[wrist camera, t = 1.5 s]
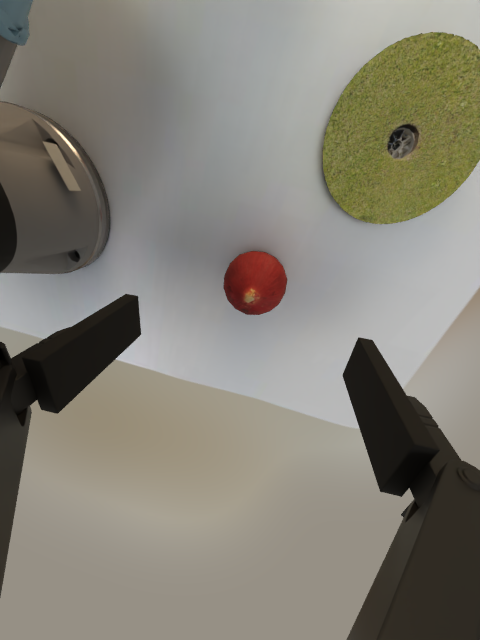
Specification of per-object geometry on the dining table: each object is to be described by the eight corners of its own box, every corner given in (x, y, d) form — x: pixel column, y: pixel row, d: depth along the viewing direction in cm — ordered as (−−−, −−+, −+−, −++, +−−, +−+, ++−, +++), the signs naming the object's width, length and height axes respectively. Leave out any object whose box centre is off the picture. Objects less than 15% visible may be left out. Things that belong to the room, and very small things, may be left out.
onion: (269, 306, 27) (264, 344, 20) (223, 283, 27) (202, 314, 20) (296, 260, 25) (301, 286, 18) (245, 234, 24) (230, 250, 17)
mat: (393, 245, 22) (403, 249, 21) (292, 178, 21) (293, 177, 20) (516, 106, 17) (542, 96, 15) (390, 8, 16) (403, -14, 14)
